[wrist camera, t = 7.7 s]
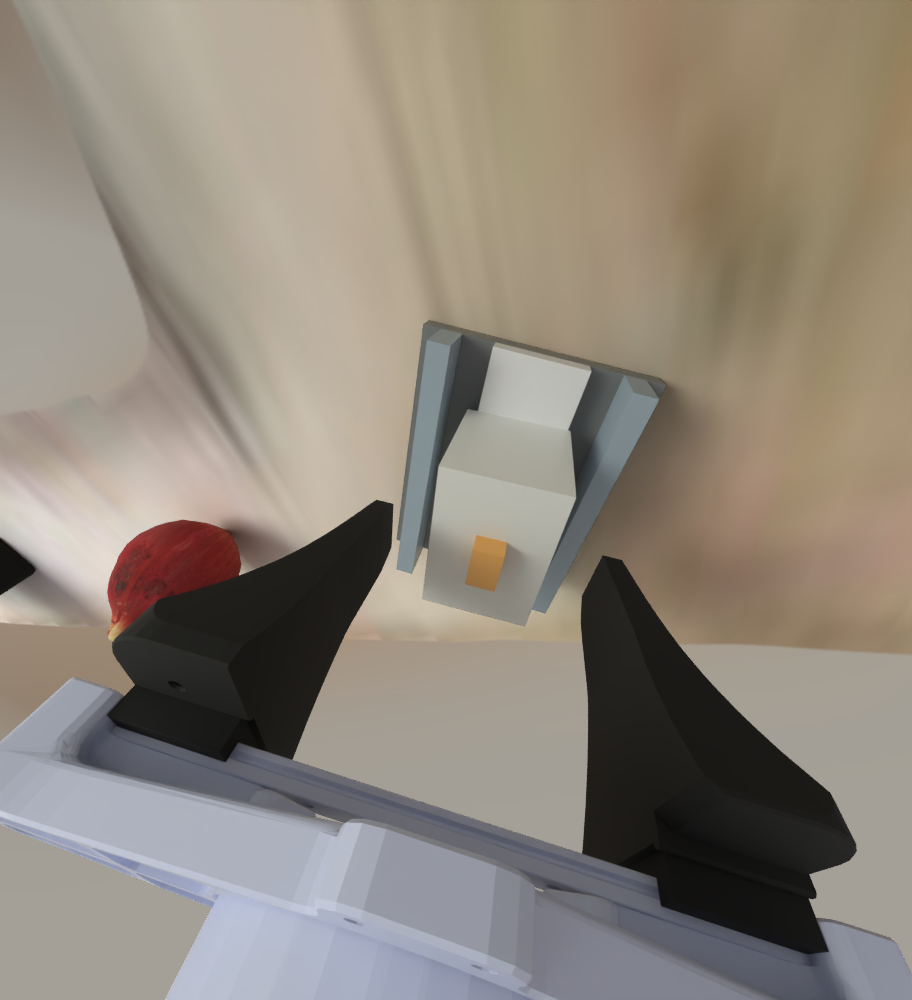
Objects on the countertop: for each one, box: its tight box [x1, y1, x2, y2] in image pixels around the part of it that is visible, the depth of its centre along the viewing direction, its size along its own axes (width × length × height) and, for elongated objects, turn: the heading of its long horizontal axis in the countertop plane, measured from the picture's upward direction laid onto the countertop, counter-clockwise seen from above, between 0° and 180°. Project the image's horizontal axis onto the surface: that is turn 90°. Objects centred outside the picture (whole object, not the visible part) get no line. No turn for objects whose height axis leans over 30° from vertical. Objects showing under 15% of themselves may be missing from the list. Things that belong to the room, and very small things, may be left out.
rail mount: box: [397, 320, 666, 613], centre depth 16 cm, size 9×11×3 cm
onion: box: [107, 520, 241, 642], centre depth 21 cm, size 6×6×8 cm
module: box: [422, 409, 576, 626], centre depth 14 cm, size 4×6×5 cm, turn 172°
